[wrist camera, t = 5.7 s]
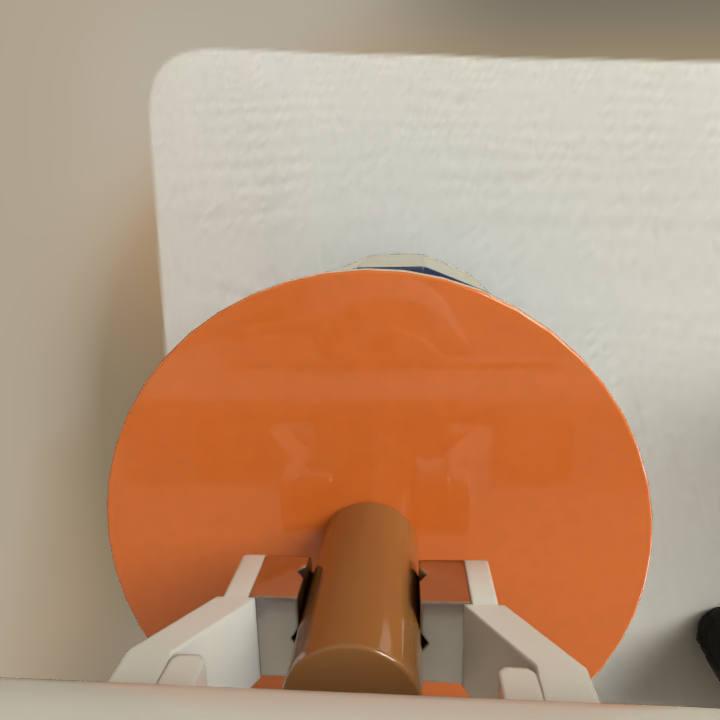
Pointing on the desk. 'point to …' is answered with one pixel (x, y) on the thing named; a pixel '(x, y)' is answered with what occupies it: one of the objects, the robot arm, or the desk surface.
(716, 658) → the film camera
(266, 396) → the lid
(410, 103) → the desk surface
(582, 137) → the desk surface
